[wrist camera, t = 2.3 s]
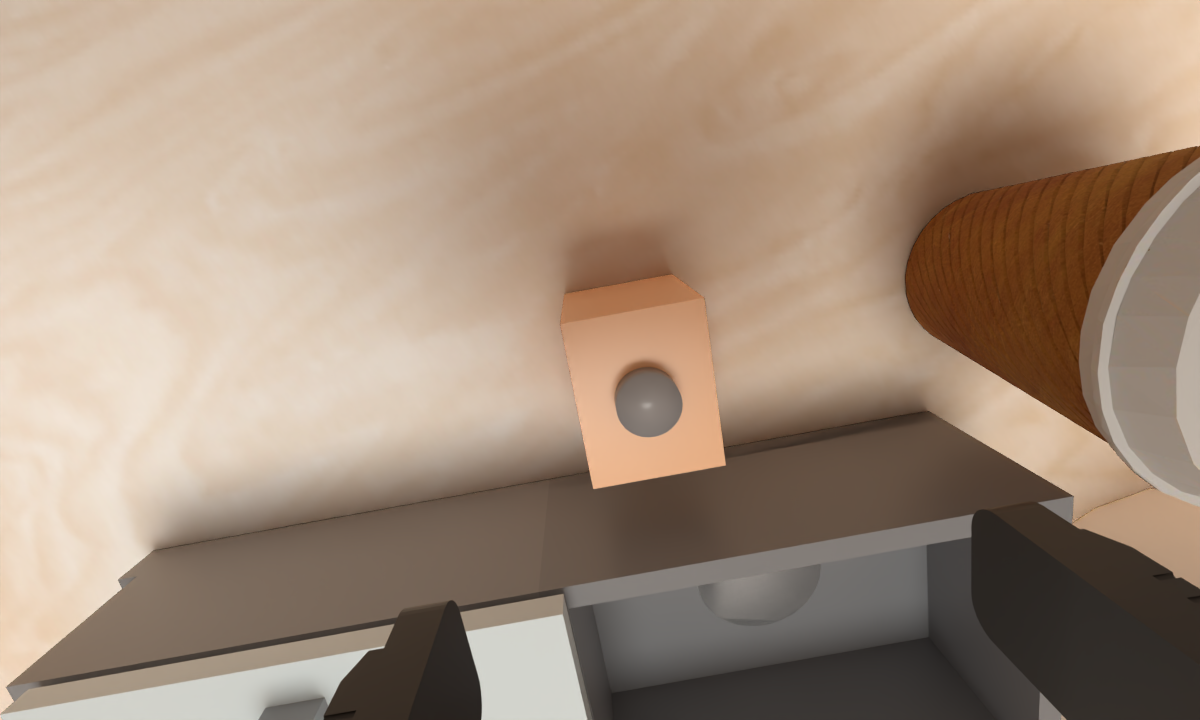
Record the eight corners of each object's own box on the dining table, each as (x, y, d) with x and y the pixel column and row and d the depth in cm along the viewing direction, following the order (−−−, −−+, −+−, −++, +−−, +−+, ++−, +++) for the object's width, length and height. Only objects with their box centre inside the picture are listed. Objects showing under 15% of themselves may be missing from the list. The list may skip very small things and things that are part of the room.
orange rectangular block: (564, 293, 23) (559, 330, 16) (671, 274, 23) (710, 302, 16) (589, 421, 24) (594, 501, 18) (690, 403, 24) (732, 476, 18)
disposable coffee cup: (843, 372, 24) (1090, 526, 13) (895, 133, 22) (1262, 51, 10) (1054, 389, 25) (1476, 552, 13) (1128, 159, 22) (1728, 110, 11)
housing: (153, 550, 25) (-20, 691, 18) (927, 411, 25) (1073, 496, 17) (244, 754, 28) (130, 944, 21) (933, 632, 28) (1057, 782, 21)
